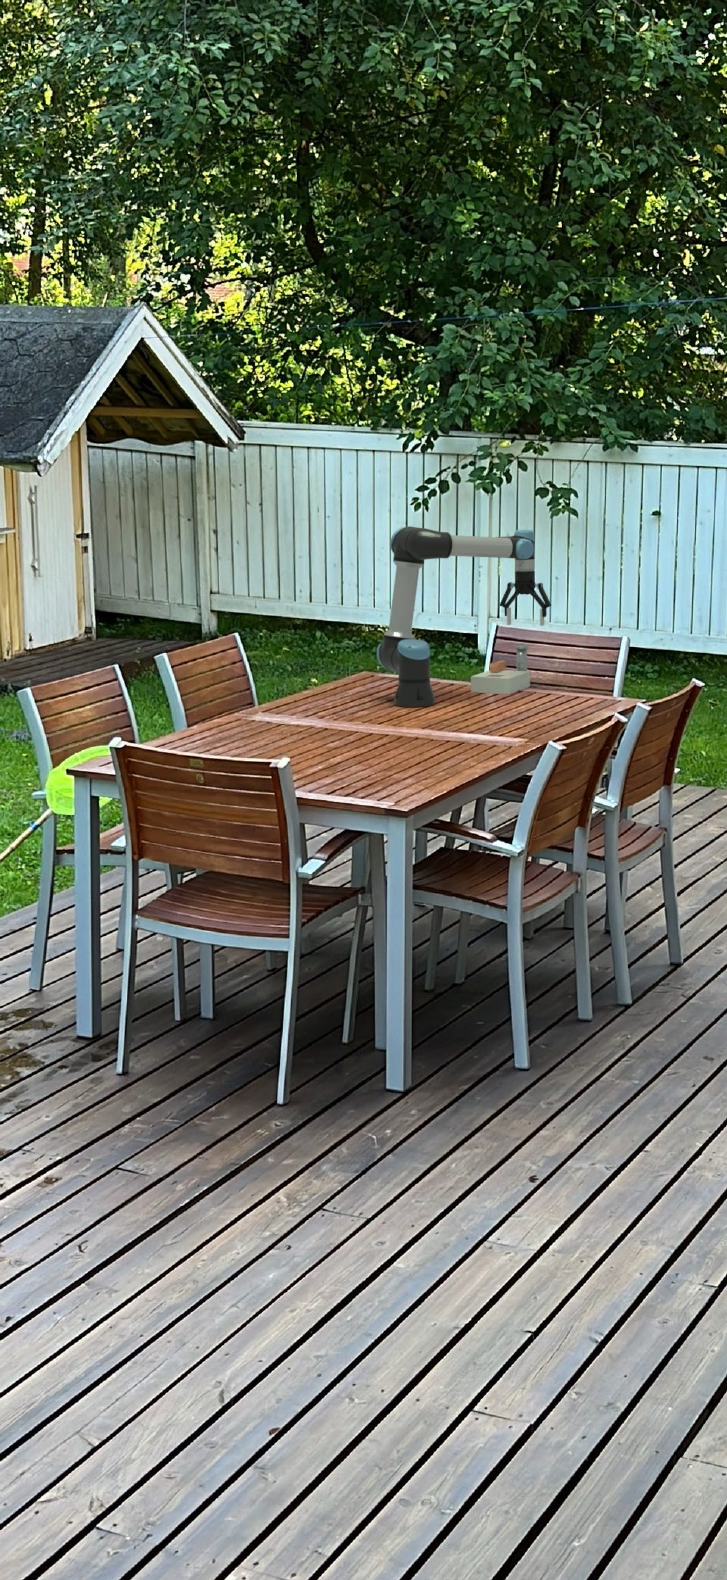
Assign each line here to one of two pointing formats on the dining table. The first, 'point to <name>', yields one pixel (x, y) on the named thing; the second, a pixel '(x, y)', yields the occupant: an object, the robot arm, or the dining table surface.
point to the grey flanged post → (522, 657)
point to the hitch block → (500, 681)
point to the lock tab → (498, 666)
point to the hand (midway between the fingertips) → (525, 625)
